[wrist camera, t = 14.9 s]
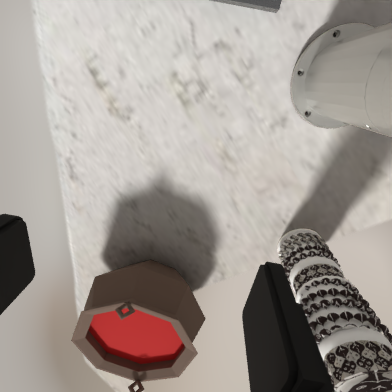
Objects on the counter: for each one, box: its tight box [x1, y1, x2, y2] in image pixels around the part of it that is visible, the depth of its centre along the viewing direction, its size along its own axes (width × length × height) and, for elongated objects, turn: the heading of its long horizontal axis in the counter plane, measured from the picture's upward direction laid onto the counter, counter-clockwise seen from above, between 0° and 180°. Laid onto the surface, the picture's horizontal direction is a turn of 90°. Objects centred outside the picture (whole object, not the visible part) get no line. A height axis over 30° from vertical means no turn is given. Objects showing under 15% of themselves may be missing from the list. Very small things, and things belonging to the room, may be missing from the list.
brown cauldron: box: [71, 260, 205, 392], centre depth 45 cm, size 24×24×16 cm
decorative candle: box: [277, 228, 392, 392], centre depth 33 cm, size 9×9×25 cm
